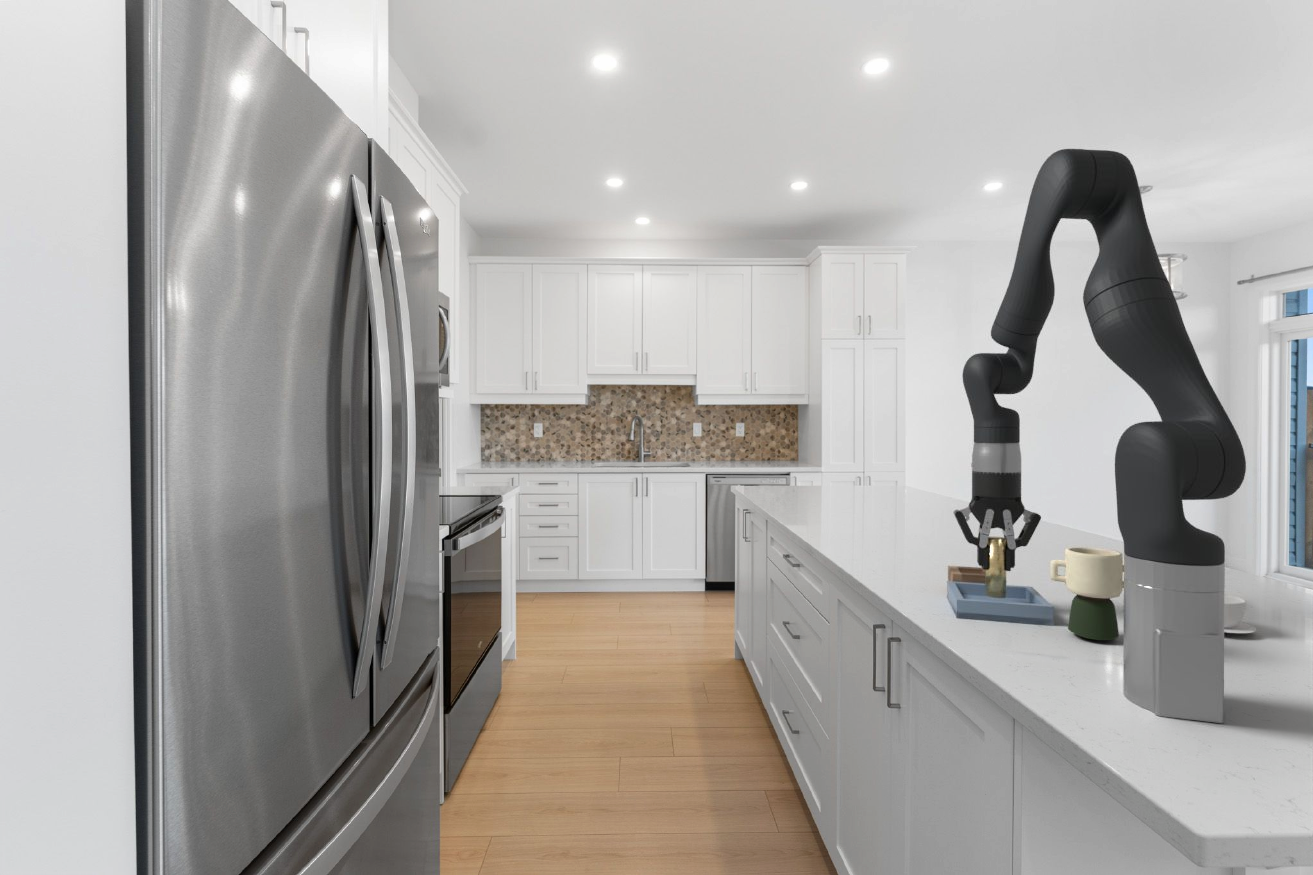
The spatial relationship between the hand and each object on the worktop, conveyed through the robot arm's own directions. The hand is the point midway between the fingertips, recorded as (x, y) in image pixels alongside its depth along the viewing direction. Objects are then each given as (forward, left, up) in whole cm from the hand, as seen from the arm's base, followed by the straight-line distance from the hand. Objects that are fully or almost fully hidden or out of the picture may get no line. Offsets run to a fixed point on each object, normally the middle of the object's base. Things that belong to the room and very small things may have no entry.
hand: (996, 569), depth 111 cm
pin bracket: (+13, +2, -7) cm, 15 cm away
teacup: (+1, -31, -8) cm, 32 cm away
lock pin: (0, 0, -5) cm, 5 cm away
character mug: (-12, -11, -7) cm, 18 cm away
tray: (0, 0, -7) cm, 7 cm away
